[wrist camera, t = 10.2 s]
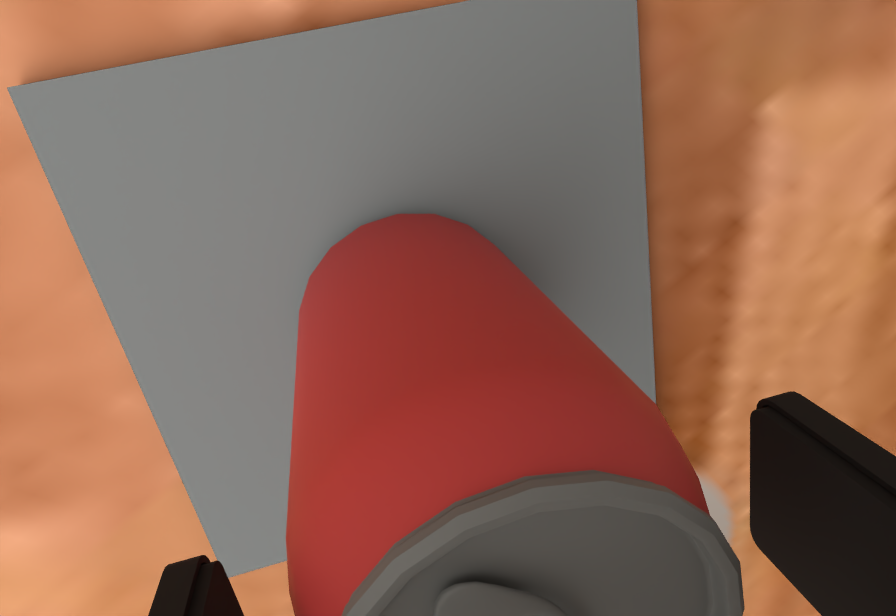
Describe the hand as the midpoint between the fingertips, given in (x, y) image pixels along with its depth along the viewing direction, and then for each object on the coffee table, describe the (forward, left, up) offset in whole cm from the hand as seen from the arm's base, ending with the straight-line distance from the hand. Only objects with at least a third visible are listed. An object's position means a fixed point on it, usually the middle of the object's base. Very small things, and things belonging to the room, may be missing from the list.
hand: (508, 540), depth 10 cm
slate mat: (+1, 0, -10) cm, 10 cm away
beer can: (+1, 0, -9) cm, 9 cm away
